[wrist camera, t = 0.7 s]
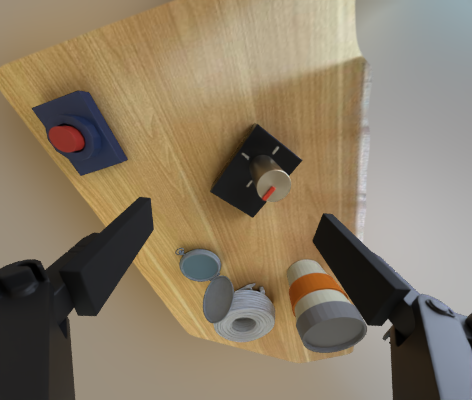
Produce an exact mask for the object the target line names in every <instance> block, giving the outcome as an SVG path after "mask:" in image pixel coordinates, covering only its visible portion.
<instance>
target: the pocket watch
mask: <svg viewBox="0 0 472 400" xmlns="http://www.w3.org/2000/svg"><path fill="white" fill-rule="evenodd" d="M179 249H183V248H179ZM177 250H178V249H177ZM177 250H176V251H177ZM175 253H176V252H175ZM178 253H179V254H177V253H176V254H177V255H183V257H182V258H181V260H180V270H181V271H182V273H183V275H184V276H186V277H187V278H189V279H191V280H193V281H199V282H202V281H208V280H210V281H211V283H210V284H209V286H208V287H207V289H206V292H205V295H204V299H203V312H204V315H205V317H206V319H207V320H208V321H209V322H210V323H218V322H220V321H222V320H223V319H225V318H226V316H227V315H228V314H229V312H230V310H231V307H232V305H233V300H234V288H233V285H232V282H231V281H230V279H229V278H227V277H226V276H219V275H220V273H219V272H220V269H221V262H220V260H219V258H218V257H217V256H216V255H215V254H214V253H213V252H211V251H208V250H204V249H195V250H191V251H189V252H187V253H186V254H185V253H184V249H183V250H182V251H181V250H179V252H178ZM216 275H217V276H218V277H217V276H216Z"/></svg>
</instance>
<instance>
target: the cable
mask: <svg viewBox="0 0 472 400" xmlns="http://www.w3.org/2000/svg"><path fill="white" fill-rule="evenodd" d="M253 286H255V283H254V284H249V285H247V286H244V287H243V288H241V289H239V290H237V291H235V292H234V300H233V305H232V307H231V310H230V312H229V314H228V315H227V316H226V318H225V319H223V320H222V321H220V322H218V323H214V328H215V331H216V332H217V333H218V334H219V335H220V336H222V337H224V338H225V339H228V340H230V341H235V342H248V341H252V340H256V339H258V338H260V337H262V336H264V335H266V334H267V333H268V332H270V331H271V329H272V328H273V326H274V323H275V308H274V306H273V304H272V302H271V301H270V299H269V298H268V297H267V296H266V295H265V291H264V288H263V287H262V286H261V287H260V292H257V291H253V290H251V289H252V287H253ZM248 288H250V290H245V289H248Z"/></svg>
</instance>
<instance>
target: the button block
mask: <svg viewBox="0 0 472 400" xmlns="http://www.w3.org/2000/svg"><path fill="white" fill-rule="evenodd" d="M32 110H33V111H34V112H35V114H36V115H37V117H38V118H39V119H40V121H41V122H42V123H43V125H44V126H45V128H46V133H47V138H48V140H49V142H50V143H51V141H50V139H49V131H50V129H51V128H53V127H55V126H72V127H74V128H76V129H77V130H79V131H80V132H81V134H82V135H83V137H84V139H85V146H84V147H83V148H82V149H81V150H78V151H74V152H63V151H61V150H59V149H57V148H56V147H55V146H54V145H53V144H52V143H51V144H52V146H53V147H54V148H55V150H56V151H57V152H59V153H60V154H62V155H63V156H65V157H66V158H68V159H69V160H70V162H71V163H72V165H73V166H74V167H75V169H76V170H77V171H78V173H79V174H80V176H82V175H85V174H88V173H91V172H94V171H97V170H100V169H103V168H106V167H109V166H113V165H116V164H119V163H122V162H124V161H126V160H128V159H127V157H126V155H125V154H124V152H123V150H122V149H121V147H120V145H119V143H118V142H117V140H116V138H115V136H114V135H113V133H112V131H111V129H110V128H109V126H108V124H107V123H106V121H105V119H104V117H103V116H102V114H101V112H100V110H99V109H98V107H97V105H96V104H95V102H94V100H93V98H92V97H91V95H90V93H89V92H84V91H75V92H73V93H70V94H68V95H65V96H62V97H60V98H57V99H54V100H52V101H49V102H47V103H44V104H41V105H39V106H36V107H33V108H32Z"/></svg>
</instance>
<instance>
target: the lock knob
mask: <svg viewBox="0 0 472 400" xmlns="http://www.w3.org/2000/svg"><path fill="white" fill-rule="evenodd" d="M249 170H250V173H251V176H252V179H253V181H254V184H255V187H256V190H257V192H258V194H259V196H260V197H261V198H262V199H263V200H264V201H268V202H276V201H279V200H281V199H283V198H284V197H285V196H286V195H287V194H288V193H289V191H290V188H291V180H290V178H289V176H288V175H287V174H286V173H285V172H284V171H283V170H282V169H281V168H280V167H279V166H278V165H277V164H276V163H275V161H274V160H273V159H272V158H270V157H269V156H267V155H259V156H257V157H255V158H254V159H253V160H252V161H251V163H250V167H249Z"/></svg>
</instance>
